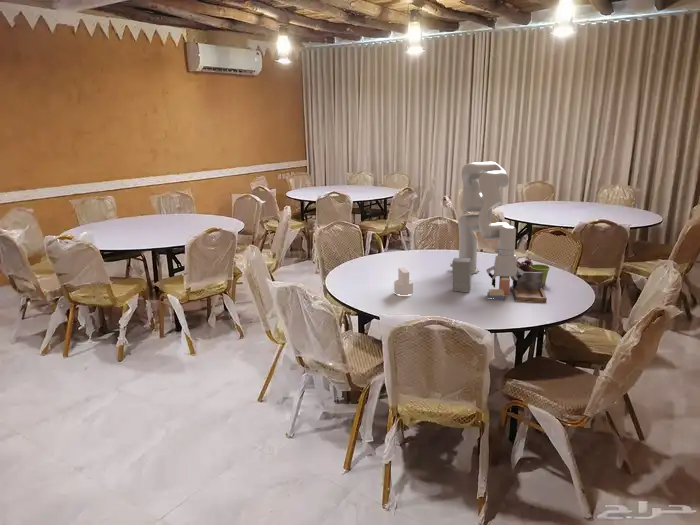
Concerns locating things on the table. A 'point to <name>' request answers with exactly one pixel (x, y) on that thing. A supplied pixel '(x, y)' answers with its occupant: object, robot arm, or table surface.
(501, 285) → the salmon pink block
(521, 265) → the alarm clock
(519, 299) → the brown open box
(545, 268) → the plant pot
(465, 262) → the skincare box
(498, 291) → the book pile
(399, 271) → the cylinder with rectangular tab
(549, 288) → the table surface
